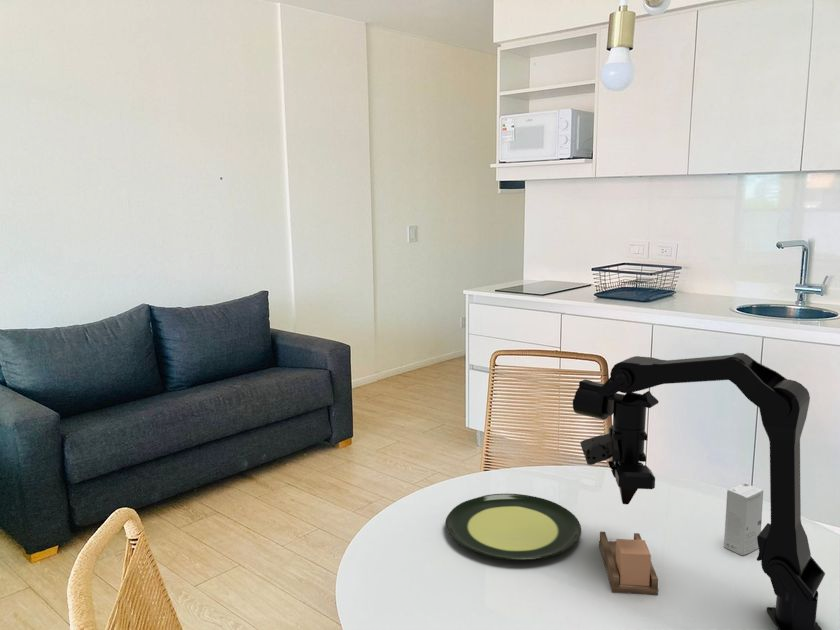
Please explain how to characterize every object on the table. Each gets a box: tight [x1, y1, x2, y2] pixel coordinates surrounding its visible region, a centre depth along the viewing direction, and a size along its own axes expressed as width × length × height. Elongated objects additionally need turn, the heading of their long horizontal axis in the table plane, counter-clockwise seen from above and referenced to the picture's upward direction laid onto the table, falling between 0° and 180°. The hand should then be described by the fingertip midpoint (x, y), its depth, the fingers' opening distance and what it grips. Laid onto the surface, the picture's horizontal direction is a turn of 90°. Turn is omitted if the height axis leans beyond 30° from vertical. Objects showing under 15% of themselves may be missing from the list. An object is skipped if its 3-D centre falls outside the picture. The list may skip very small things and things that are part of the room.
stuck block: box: [615, 538, 652, 586], centre depth 118 cm, size 5×5×6 cm
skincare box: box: [723, 483, 764, 556], centre depth 130 cm, size 6×4×12 cm
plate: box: [444, 493, 582, 561], centre depth 138 cm, size 28×28×2 cm
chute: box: [598, 531, 659, 596], centre depth 123 cm, size 16×8×3 cm, turn 173°
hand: (625, 503), depth 125 cm, fingers closed
